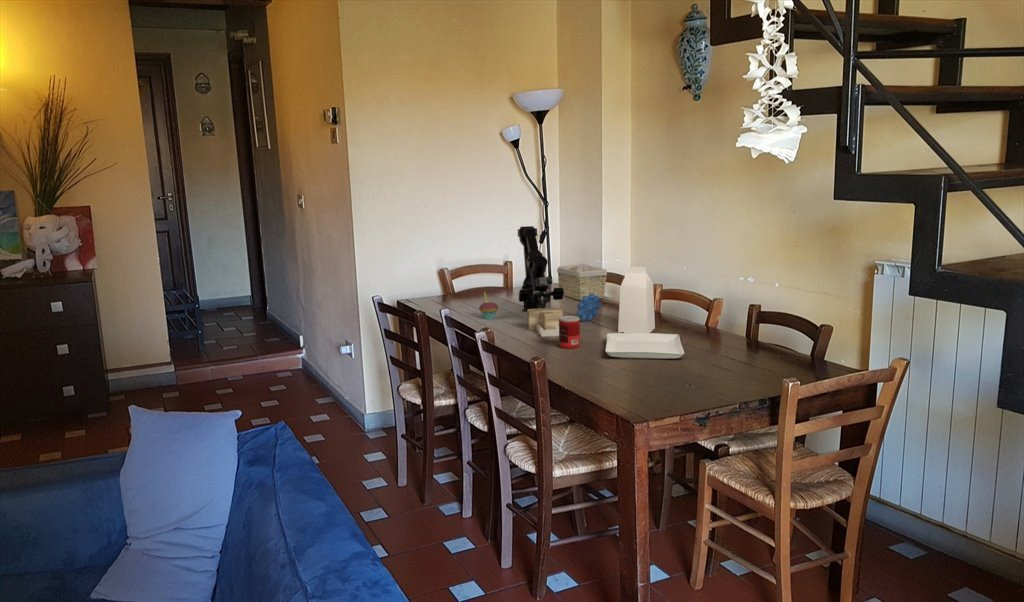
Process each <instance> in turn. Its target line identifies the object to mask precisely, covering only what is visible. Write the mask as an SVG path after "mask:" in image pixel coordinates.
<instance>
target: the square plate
mask: <svg viewBox="0 0 1024 602" xmlns="http://www.w3.org/2000/svg"><path fill="white" fill-rule="evenodd" d="M604 352H605V353H606V354H607V355H608V356H610V357H613V358H620V359H646V360H647V359H653V360H657V359H659V360H660V359H661V360H668V359H670V360H671V359H672V360H673V359H679V358H682V356H684V355H685V351H684V348H683V346H682V342H681V338H680V335H679V334H677V333H658V332H657V333H656V332H655V333H653V332H650V333H621V332H617V333H616V332H615V333H613V332H611V333H608V332H607V333H606V344H605V351H604Z"/></svg>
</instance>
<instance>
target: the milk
mask: <svg viewBox="0 0 1024 602" xmlns="http://www.w3.org/2000/svg"><path fill="white" fill-rule="evenodd" d="M619 290H620V291H619V305H618V306H619V308H618V310H619V311H618V328H617V330H618V331H617V333H621V332H624V333H652V331H654V330H655V329H656V320H655V319H656V317H655V316H656V315H655V298H654V294H655V293H654V283H653V280H652V279H651V277H650V275H649V274H648V271H647V269H646V266H640V265H639V266H638V265H636V266H635V265H630V266H629V267H628V269H627V271H626V273H625V275H624V278H623V279H622V282H621V283H620V289H619ZM653 329H654V330H653Z"/></svg>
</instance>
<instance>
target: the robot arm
mask: <svg viewBox="0 0 1024 602" xmlns="http://www.w3.org/2000/svg"><path fill="white" fill-rule="evenodd" d="M517 237H518V239H519V243H521V246H523V256H524V258H523V259H524V260H523V261H524V271H525V272H524V273H525V277H524V280H523V282H522V285H521V289H520V290H518V302H520V303H521V302H522V303H523V309H521V312H527V309H543V308H547V304H548V303H549V302H551V298H552V299H553V300H554V301H560V300H564V299H563V298H564V296H563V295H564V289H563V288H562V287H559V286H557V287H553V290H549V285H552V284H553V283H554V281H553V276H552V275H547V276H545V272H546V271H547V265H548V259H547V258H546V256H543V255H544V254H543V253H542V252H541V251H540V250H539V246H538V241H537V237H538V228H535V227H534V225H529V226H528V225H527V226H520V227H519V228H518V229H517Z"/></svg>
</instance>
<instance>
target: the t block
mask: <svg viewBox="0 0 1024 602" xmlns="http://www.w3.org/2000/svg"><path fill="white" fill-rule="evenodd" d="M563 312H564V311H563V308H562V307H546V308H543V309H540V308H539V309H527V329H528V330H529V331H537V330H536V324H540V325H541V326H542V327H543V329H544V330H550V329H556V327H555V323H556V324H557V325H558V326H559V318H560V317H562V316H564V315H563V314H564V313H563Z"/></svg>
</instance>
